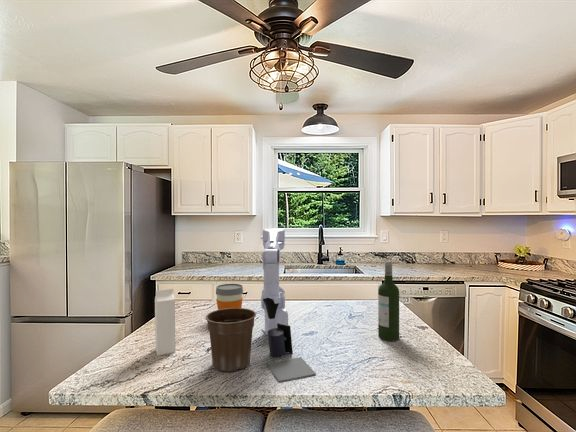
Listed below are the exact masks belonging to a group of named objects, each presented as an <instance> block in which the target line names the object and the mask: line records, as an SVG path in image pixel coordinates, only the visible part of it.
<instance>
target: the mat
mask: <svg viewBox="0 0 576 432" xmlns="http://www.w3.org/2000/svg"><path fill="white" fill-rule="evenodd" d="M266 365H267V367H268V368H269V370H270V371H271V373H272V374H273V377H275V379H276V381H277V382H278V383H282V382H287V381H292V380H297V379H302V378H307V377H312V376H313V377H314V376H316V375H317V372H315V371H314V370H313V369H312V367H311V366H310V365H309V364H308V363H307V362H306V360H304V359H303V358H302V357H301V356H300V357H295V358H294V357H293V358H289V359H288V358H287V359H283V360H282V359H281V360H277V361H271V362H267V363H266Z"/></svg>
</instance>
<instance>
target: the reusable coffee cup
mask: <svg viewBox="0 0 576 432" xmlns="http://www.w3.org/2000/svg"><path fill="white" fill-rule="evenodd" d="M215 294H216V306H217V307H216V308H217V310H220V309H226V308H243V307H242V306H243V294H244V286H243V285H242V284H240V283H223V284H219V285H217V286H216V288H215Z"/></svg>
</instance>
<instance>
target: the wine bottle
mask: <svg viewBox="0 0 576 432" xmlns="http://www.w3.org/2000/svg"><path fill="white" fill-rule="evenodd" d="M377 291H378V292H377V294H378V295H377V297H378V298H377V301H378V303H377V306H378V307H377V309H378V312H377V313H378V314H377V315H378V316H377V317H378V318H377V319H378V320H377V321H378V322H377V323H378V326H377V327H378V329H377V331H378V332H377V333H378V338H379V339H380V340H382V341H386V342H397V341H399V340H400V289H399V287H398V285H396V284H395V283H394V280H393V261H392V260H385V262H384V281H383V282H382V283H381V284H380V285H379V286H378V289H377Z"/></svg>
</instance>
